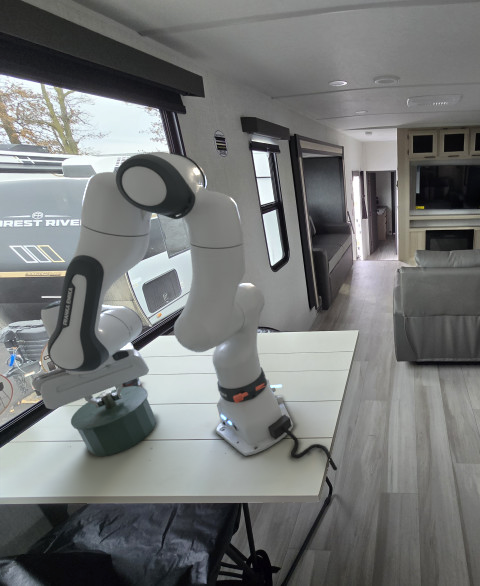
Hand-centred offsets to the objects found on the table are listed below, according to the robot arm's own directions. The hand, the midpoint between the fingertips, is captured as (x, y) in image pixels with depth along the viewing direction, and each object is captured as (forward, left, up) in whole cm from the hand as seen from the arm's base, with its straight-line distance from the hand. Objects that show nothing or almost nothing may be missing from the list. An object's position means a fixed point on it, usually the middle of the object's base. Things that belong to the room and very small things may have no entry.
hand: (109, 402), depth 83 cm
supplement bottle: (+23, -4, -11) cm, 26 cm away
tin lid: (0, 0, -2) cm, 2 cm away
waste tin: (0, 0, -11) cm, 11 cm away
